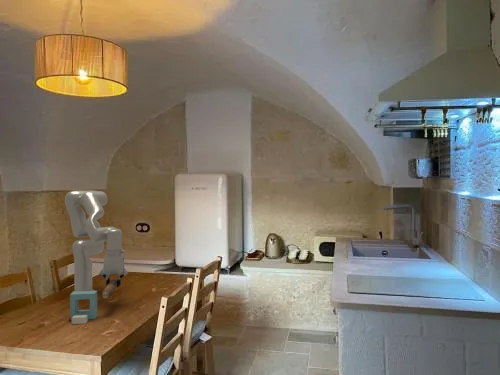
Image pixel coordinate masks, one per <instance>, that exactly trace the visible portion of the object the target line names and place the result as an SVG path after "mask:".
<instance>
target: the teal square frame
mask: <svg viewBox="0 0 500 375" xmlns="http://www.w3.org/2000/svg"><path fill="white" fill-rule="evenodd" d="M74 291H75V290H74ZM79 300H89V309H80V310H79ZM75 315H88V320H95V319H96V318H97V317H98V290H95V291H75V292H73V291H72V292H71V293H70V294H69V319H70V321H72V317H73V316H75Z"/></svg>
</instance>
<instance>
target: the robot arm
mask: <svg viewBox="0 0 500 375" xmlns="http://www.w3.org/2000/svg"><path fill="white" fill-rule="evenodd" d="M108 200H109V198H108V195H107V193H106V192H104V191H102V190H100V191H99V190H92V189H91V190H70V191H69V192H67V193H66V194H65V198H64V205H65V208H66V210H67V212H68V215H69V219H70V221H69V222H70V224H71V225H70V226H71V231H72V235H73V236H74V237H75V238H81V239H77V240H75V241H74V242H73V243H72V246H71V247H72V248H71V249H72V254H73V262H74V263H73V264H74V266H73V268H74V273H73V274H74V276H73V277H74V291H72V292H75V291H96V290H95V289H93V262H92V259H91V258H90V257H89V256H92V255H97V254H101V253H103V252H104V250H105V242H106V254H104V257H103V258H104V260H103V267H102V269H101V270H100V271H99V275H101V276H102V277H103V278H104V279H105V281H106V282H105V285H106V286H107V285H108V284H109V282H110V281H111V278H110V275H116V276H117V279H116V280H117V287H116V288H119V287H120V286H121V284H122V279H123V277H124V276H126V275H128V273H129V272H128V271H127V270H126V268H125V259H124V253H125V250H124V249H123V248H122V243H123V241H122V239H123V237H122V236H123V231H122V230H121V228H116V227H115V226H104V227H103V226H101V224H100V222H99V221H98V220H100V219H101V218H102V217H103V216H104V215H105V210H104V208H103V206H106V205H107V204H108ZM81 206H83V208H84V210H85V211H86V213H85V211H84V210H83V208H82V207H81ZM86 214H87V215H86ZM86 216H88V217H86ZM88 237H89V238H88Z"/></svg>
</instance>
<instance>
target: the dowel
mask: <svg viewBox="0 0 500 375" xmlns="http://www.w3.org/2000/svg"><path fill="white" fill-rule="evenodd" d="M117 280H118V279H116V278H113V279H110V282H109V284H108V285H106V287H105V288H104V289H103V290H102V292H100V297H101V298H102V299H103V300H108V299H110V297H111V296H112V294H113V293H114V291H115V290H116V289H117V288H118V287H117Z"/></svg>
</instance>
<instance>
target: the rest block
mask: <svg viewBox="0 0 500 375" xmlns="http://www.w3.org/2000/svg"><path fill="white" fill-rule="evenodd" d="M88 320H89V319H88V315H75V316H73V317H72V320H71V324H72V325H83V324H84V325H85V324H87V323H88Z"/></svg>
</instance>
